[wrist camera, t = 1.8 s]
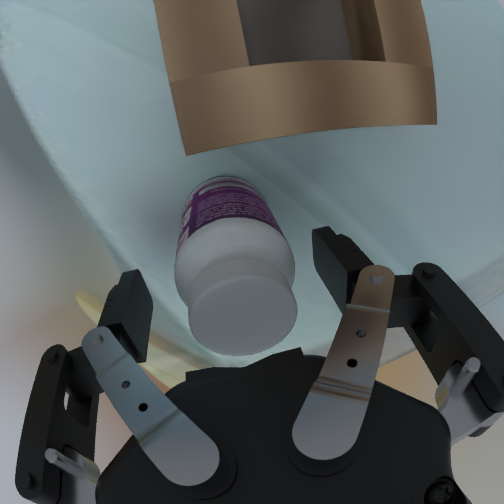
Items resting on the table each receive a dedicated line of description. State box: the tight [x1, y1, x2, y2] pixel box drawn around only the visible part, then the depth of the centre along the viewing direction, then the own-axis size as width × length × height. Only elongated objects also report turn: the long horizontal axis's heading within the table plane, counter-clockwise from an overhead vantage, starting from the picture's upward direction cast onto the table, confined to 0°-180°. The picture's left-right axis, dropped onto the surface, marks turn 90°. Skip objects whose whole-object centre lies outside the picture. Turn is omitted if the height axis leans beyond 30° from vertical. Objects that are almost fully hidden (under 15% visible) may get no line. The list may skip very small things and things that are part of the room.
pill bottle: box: [174, 177, 297, 356], centre depth 14 cm, size 5×5×10 cm
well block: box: [154, 0, 437, 156], centre depth 11 cm, size 14×14×4 cm
